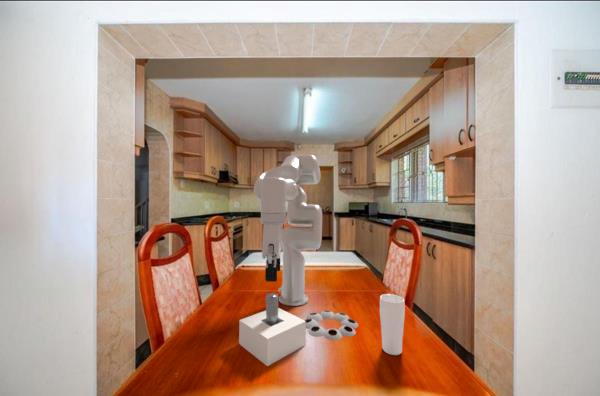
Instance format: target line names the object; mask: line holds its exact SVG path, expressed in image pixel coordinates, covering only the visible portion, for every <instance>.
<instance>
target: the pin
mask: <svg viewBox="0 0 600 396" xmlns="http://www.w3.org/2000/svg"><path fill="white" fill-rule="evenodd" d="M278 308H279V294H278V293H275V292H271V293H267V294H266V295H265V311H266V324H267V325H269V326H273V325H276V324H278Z"/></svg>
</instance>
